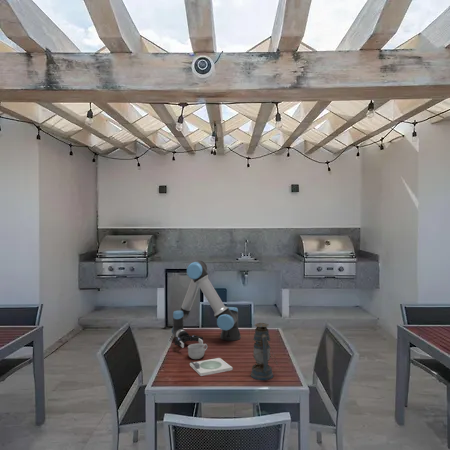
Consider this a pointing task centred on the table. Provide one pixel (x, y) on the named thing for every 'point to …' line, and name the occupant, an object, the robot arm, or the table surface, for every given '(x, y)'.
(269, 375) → the lantern
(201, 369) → the record player
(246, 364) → the table surface
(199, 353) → the teacup
